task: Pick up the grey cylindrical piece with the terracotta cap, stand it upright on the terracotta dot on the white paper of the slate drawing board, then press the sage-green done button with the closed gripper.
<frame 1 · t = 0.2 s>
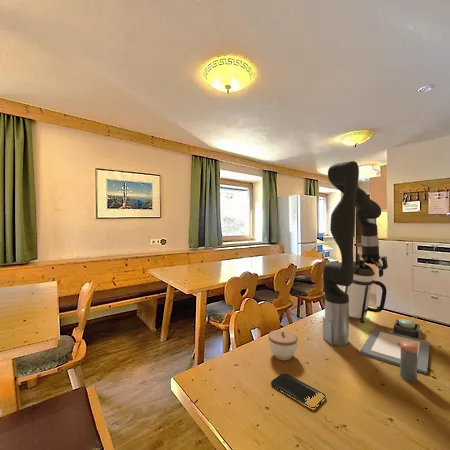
hand: (371, 275, 129), 22 cm above the table, tool pointing down, fingers open, 8 cm apart
grey cylindrical piece: (408, 378, 82), on the table
done button: (406, 324, 114), point 3 cm above the table, slide at 0.0 cm
coffee press: (355, 316, 131), point 1 cm above the table
button housing: (406, 332, 114), on the table
drawing board: (396, 348, 100), on the table
phone: (297, 393, 77), on the table
lidded jar: (282, 356, 96), on the table
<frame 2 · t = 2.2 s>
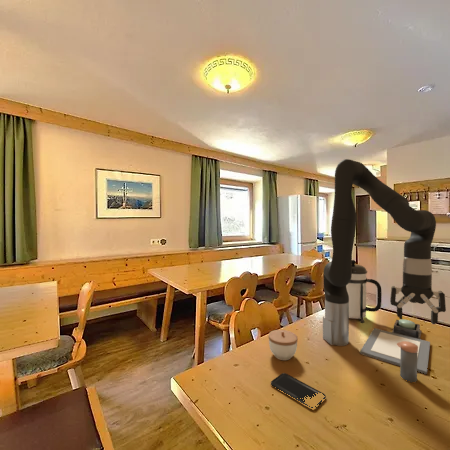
hand: (416, 320, 83), 18 cm above the table, tool pointing down, fingers open, 8 cm apart
coffee press: (355, 318, 131), on the table
everything else where it was.
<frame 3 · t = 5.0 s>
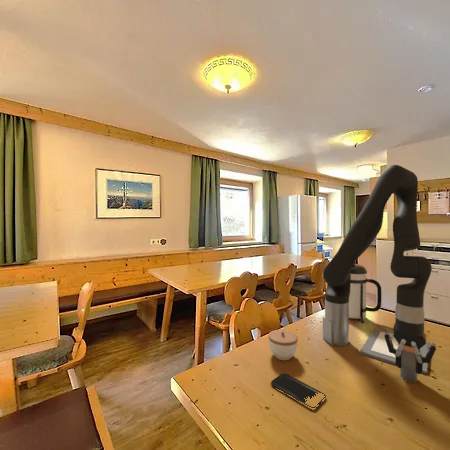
hand: (408, 369, 82), 3 cm above the table, tool pointing down, fingers closed on grey cylindrical piece, 4 cm apart
grey cylindrical piece: (408, 378, 82), on the table, touching gripper
everything else where it was.
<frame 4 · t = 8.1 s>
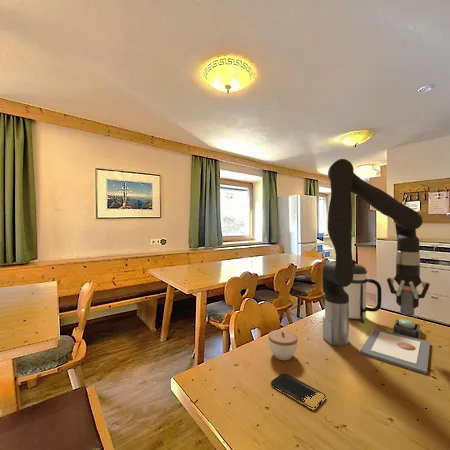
hand: (407, 306, 99), 17 cm above the table, tool pointing down, fingers closed on grey cylindrical piece, 4 cm apart
grey cylindrical piece: (407, 313, 99), point 14 cm above the table, touching gripper
everything else where it was.
when the fingers open (6 cm above the table, at t = 11.1 s): grey cylindrical piece drops 1 cm, resting on drawing board.
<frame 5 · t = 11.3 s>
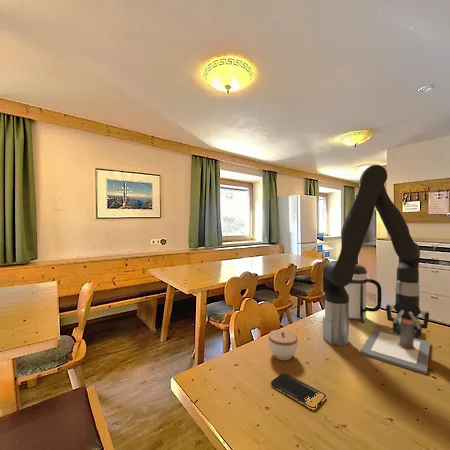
hand: (406, 334, 100), 6 cm above the table, tool pointing down, fingers open, 6 cm apart
grey cylindrical piece: (406, 345, 100), point 1 cm above the table, touching drawing board
everything else where it was.
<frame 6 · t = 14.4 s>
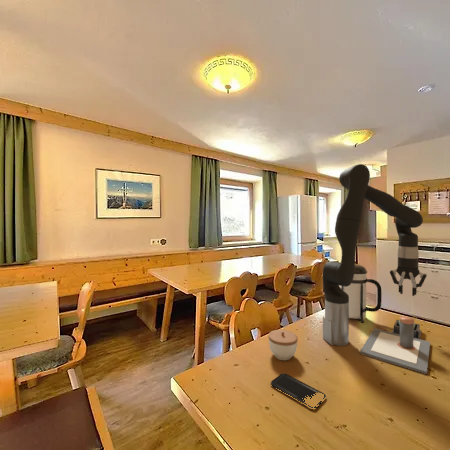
hand: (407, 294, 114), 17 cm above the table, tool pointing down, fingers open, 3 cm apart
nothing on the table moved.
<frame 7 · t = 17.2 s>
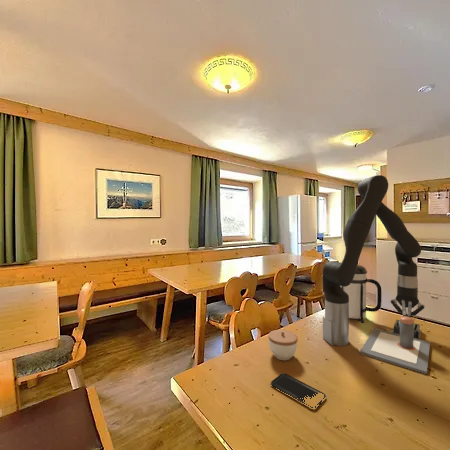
hand: (406, 323, 114), 4 cm above the table, tool pointing down, fingers closed
done button: (406, 325, 114), point 3 cm above the table, slide at 0.5 cm, touching gripper
everything else where it was.
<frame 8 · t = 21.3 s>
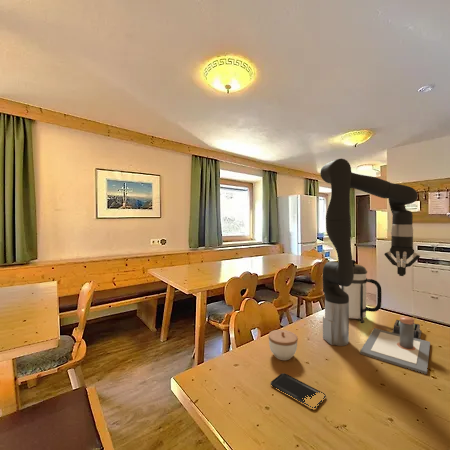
hand: (401, 275, 108), 27 cm above the table, tool pointing down, fingers closed
done button: (406, 326, 114), point 3 cm above the table, slide at 0.7 cm
everything else where it was.
at the end: grey cylindrical piece 0.2 cm from the target spot on the drawing board, point 1.3 cm above the drawing board's base; grey cylindrical piece tilted 0°; done button slide at 0.7 cm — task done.
